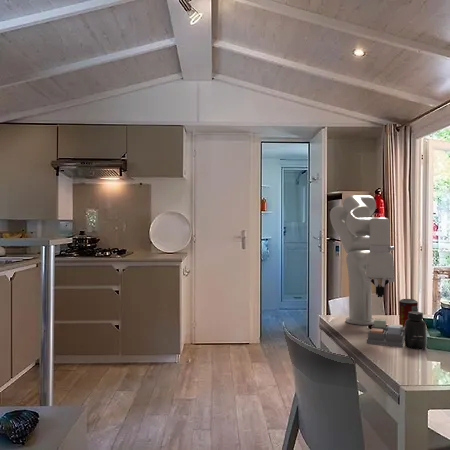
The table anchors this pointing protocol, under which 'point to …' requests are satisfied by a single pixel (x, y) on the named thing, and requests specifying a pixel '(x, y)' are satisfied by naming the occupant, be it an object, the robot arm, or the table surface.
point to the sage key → (380, 323)
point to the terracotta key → (376, 330)
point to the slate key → (394, 330)
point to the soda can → (406, 309)
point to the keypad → (386, 337)
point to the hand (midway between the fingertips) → (380, 296)
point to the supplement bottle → (415, 331)
